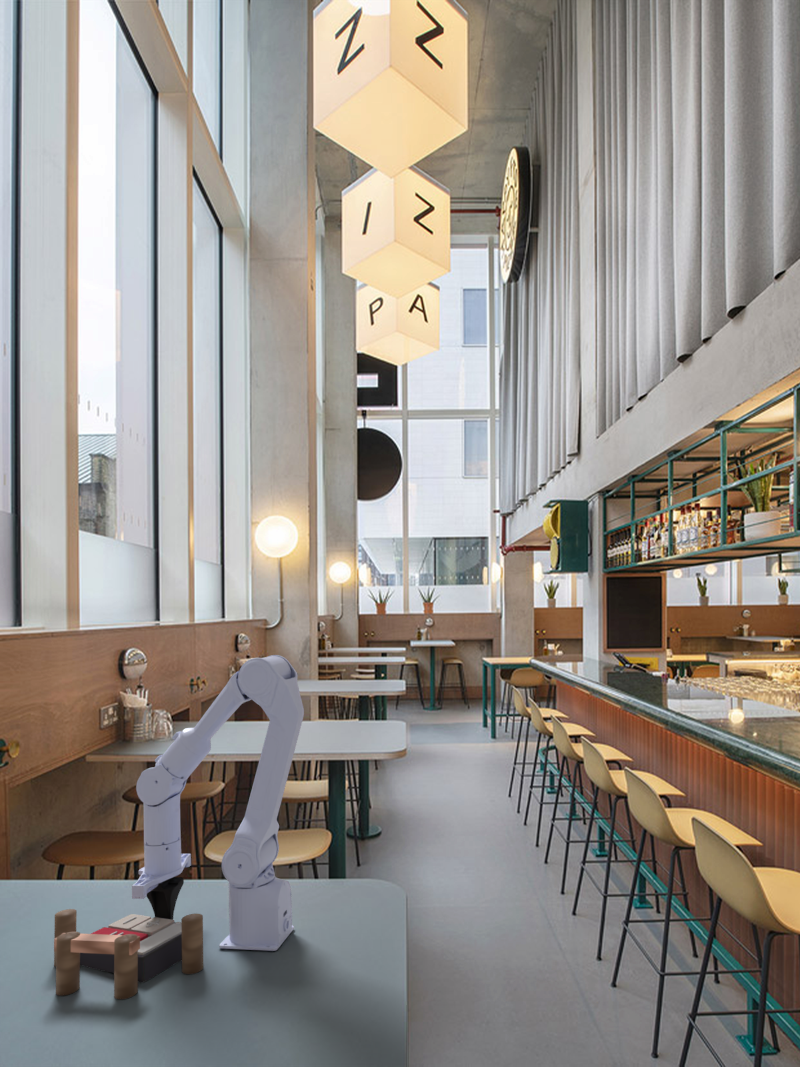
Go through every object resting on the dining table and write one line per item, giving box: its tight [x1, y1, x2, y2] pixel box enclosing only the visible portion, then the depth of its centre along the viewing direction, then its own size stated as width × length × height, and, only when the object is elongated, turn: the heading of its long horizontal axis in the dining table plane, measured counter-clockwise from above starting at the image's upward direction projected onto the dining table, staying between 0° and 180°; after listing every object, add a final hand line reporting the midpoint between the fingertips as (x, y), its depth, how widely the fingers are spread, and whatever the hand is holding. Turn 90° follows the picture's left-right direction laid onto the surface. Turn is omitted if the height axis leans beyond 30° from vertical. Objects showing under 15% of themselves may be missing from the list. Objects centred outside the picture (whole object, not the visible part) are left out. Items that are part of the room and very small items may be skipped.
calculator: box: [80, 913, 182, 983], centre depth 106 cm, size 11×4×15 cm
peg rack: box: [53, 908, 204, 1000], centre depth 99 cm, size 24×10×7 cm, turn 79°
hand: (164, 928), depth 112 cm, fingers closed
